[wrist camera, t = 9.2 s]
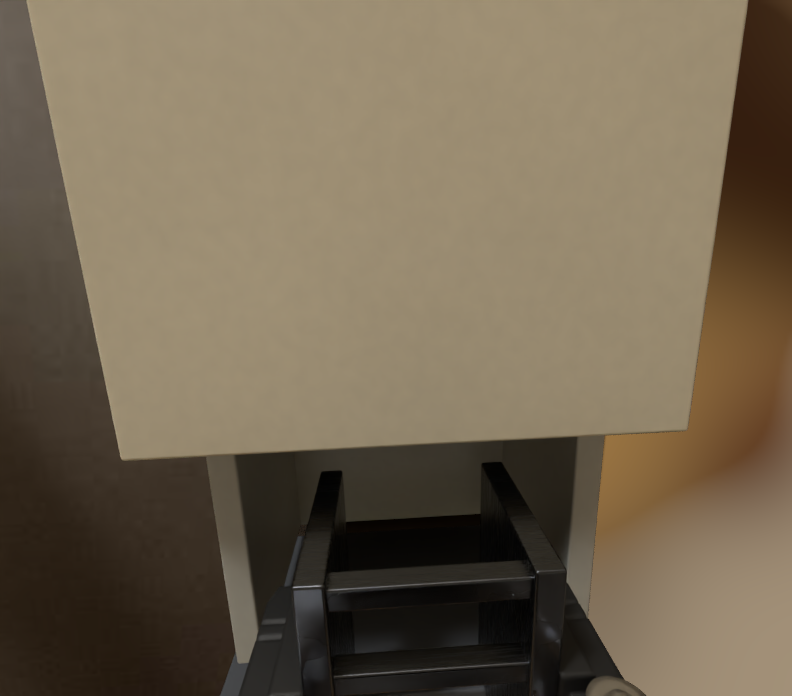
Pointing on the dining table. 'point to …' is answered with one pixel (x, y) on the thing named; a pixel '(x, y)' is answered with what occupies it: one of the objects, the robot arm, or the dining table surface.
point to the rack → (433, 585)
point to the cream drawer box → (391, 214)
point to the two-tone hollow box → (395, 499)
